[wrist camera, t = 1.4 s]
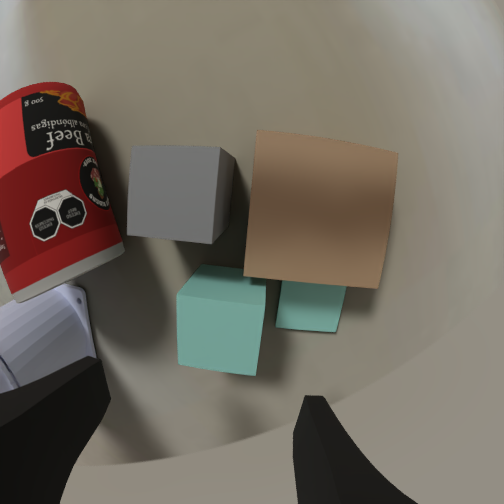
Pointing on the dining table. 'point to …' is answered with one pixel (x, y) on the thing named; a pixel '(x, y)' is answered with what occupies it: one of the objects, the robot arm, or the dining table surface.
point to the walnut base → (319, 210)
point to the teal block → (220, 320)
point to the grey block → (179, 192)
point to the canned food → (50, 192)
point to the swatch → (309, 306)
